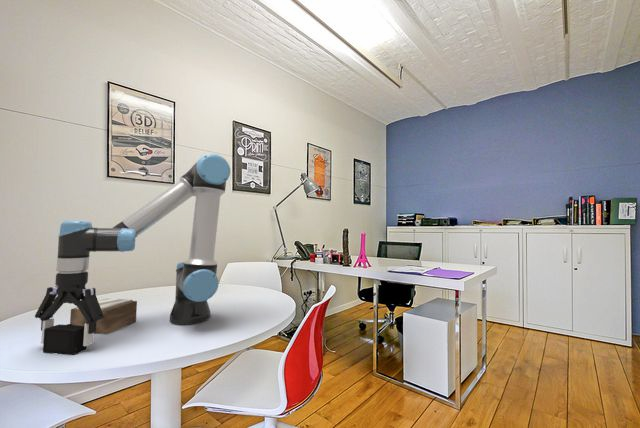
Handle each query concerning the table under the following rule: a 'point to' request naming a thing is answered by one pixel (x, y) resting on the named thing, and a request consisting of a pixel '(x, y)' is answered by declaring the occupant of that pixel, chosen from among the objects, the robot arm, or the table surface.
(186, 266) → the robot arm
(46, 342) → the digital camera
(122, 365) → the table surface
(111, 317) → the walnut stand
